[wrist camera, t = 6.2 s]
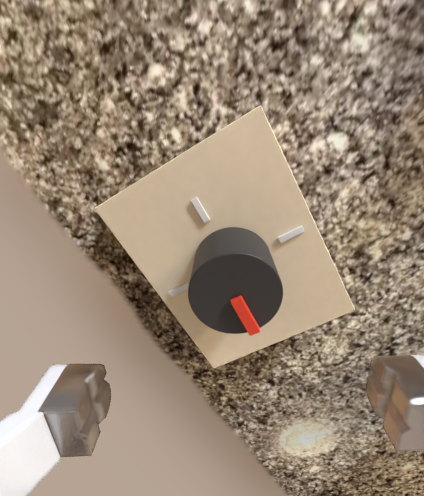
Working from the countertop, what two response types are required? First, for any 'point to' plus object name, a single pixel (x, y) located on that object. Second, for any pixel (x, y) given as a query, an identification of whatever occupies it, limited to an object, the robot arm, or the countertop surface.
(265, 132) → the panel
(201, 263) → the timer knob
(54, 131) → the countertop surface
